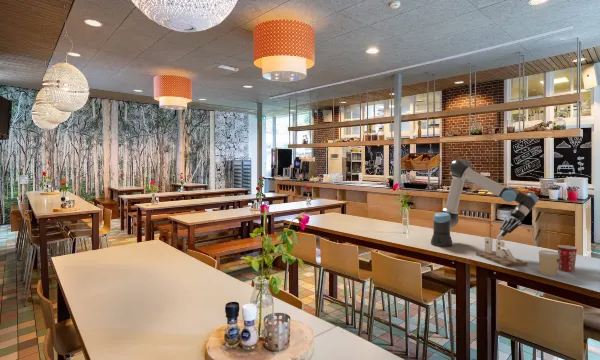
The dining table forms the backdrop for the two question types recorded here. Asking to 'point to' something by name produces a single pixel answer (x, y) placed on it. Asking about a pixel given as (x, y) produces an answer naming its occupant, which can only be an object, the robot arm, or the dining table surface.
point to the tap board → (500, 259)
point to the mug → (567, 258)
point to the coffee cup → (548, 262)
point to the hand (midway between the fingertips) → (497, 238)
